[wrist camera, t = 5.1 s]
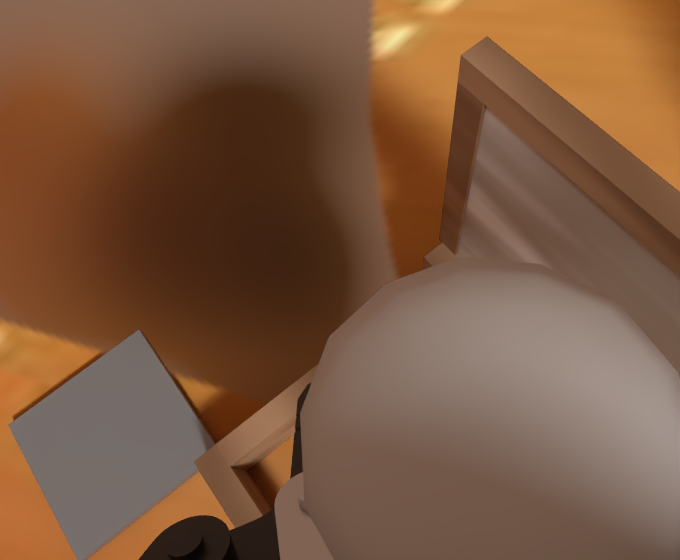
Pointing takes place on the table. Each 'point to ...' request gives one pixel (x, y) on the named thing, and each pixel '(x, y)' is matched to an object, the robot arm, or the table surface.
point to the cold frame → (516, 230)
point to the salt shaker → (492, 423)
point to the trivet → (111, 443)
